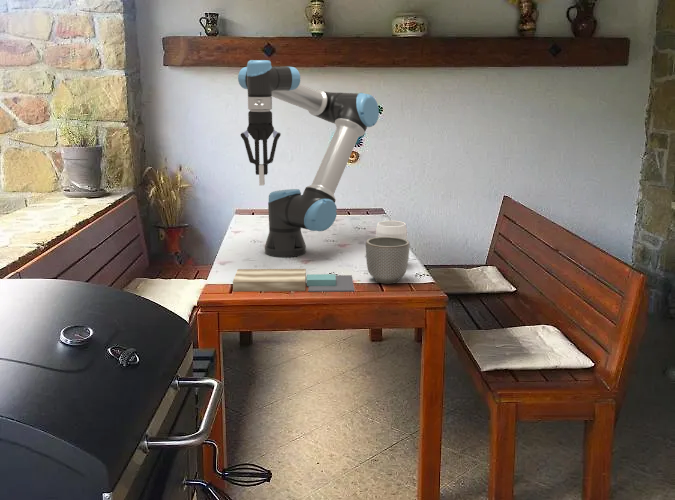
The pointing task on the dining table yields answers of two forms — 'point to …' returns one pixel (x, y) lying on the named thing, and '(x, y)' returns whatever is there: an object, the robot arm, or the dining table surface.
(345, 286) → the mat
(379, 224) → the white vase
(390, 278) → the planter
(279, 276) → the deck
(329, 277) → the teal foam pad
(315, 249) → the dining table surface
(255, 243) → the dining table surface
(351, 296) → the dining table surface
